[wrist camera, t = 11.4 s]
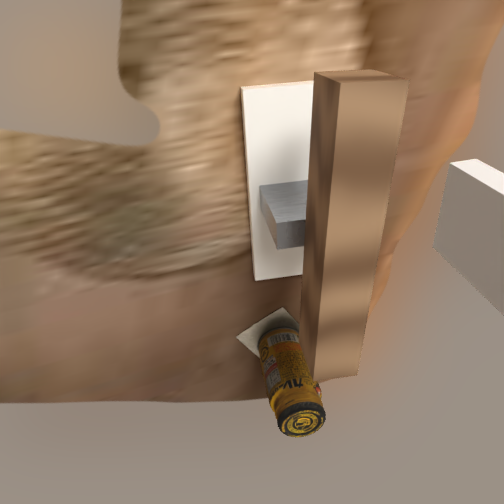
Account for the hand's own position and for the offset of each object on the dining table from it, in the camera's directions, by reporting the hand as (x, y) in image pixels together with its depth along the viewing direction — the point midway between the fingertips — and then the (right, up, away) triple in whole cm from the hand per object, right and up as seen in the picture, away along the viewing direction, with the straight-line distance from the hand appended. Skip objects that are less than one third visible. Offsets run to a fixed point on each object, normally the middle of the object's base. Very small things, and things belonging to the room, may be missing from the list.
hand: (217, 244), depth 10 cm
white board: (+6, +7, +29) cm, 30 cm away
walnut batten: (+7, +2, +21) cm, 22 cm away
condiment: (+4, -11, +40) cm, 42 cm away
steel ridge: (+6, +6, +28) cm, 29 cm away
